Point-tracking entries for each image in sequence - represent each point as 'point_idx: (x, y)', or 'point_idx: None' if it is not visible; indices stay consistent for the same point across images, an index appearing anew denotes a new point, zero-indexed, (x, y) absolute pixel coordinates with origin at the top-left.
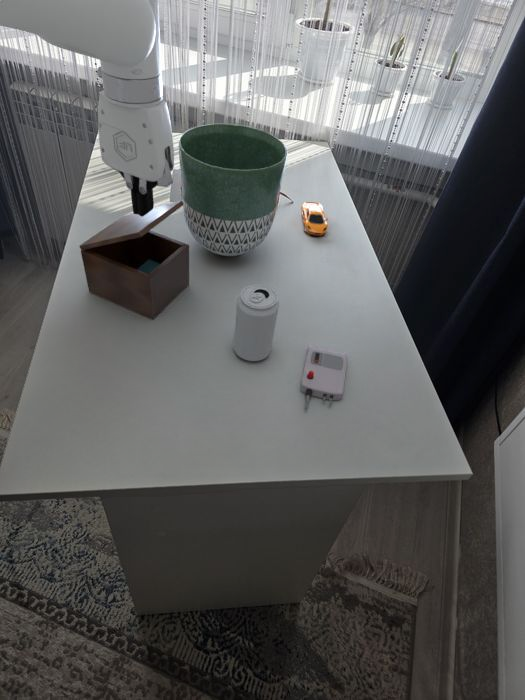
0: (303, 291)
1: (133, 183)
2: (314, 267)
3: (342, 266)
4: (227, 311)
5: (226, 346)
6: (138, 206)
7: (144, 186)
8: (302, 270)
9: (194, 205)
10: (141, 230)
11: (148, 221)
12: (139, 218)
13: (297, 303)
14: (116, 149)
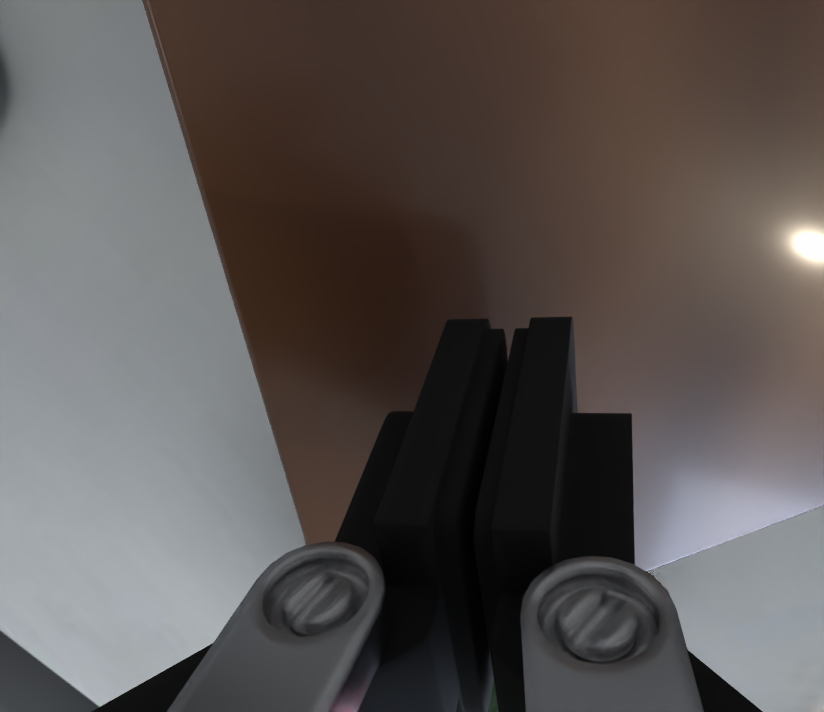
0: (90, 474)
1: (523, 673)
2: (163, 595)
3: (109, 633)
4: (183, 213)
5: (7, 4)
6: (457, 383)
7: (233, 661)
8: (178, 566)
9: (491, 695)
10: (157, 44)
11: (347, 294)
12: (656, 380)
13: (52, 408)
14: None
